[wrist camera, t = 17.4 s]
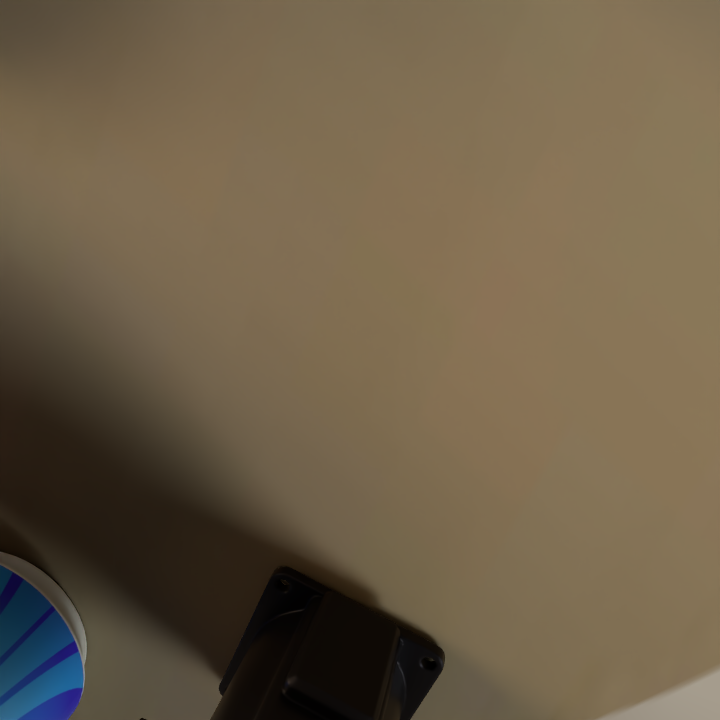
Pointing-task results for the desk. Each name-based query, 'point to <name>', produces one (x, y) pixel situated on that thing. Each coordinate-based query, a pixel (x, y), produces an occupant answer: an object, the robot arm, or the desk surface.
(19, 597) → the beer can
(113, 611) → the desk surface
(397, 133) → the desk surface
